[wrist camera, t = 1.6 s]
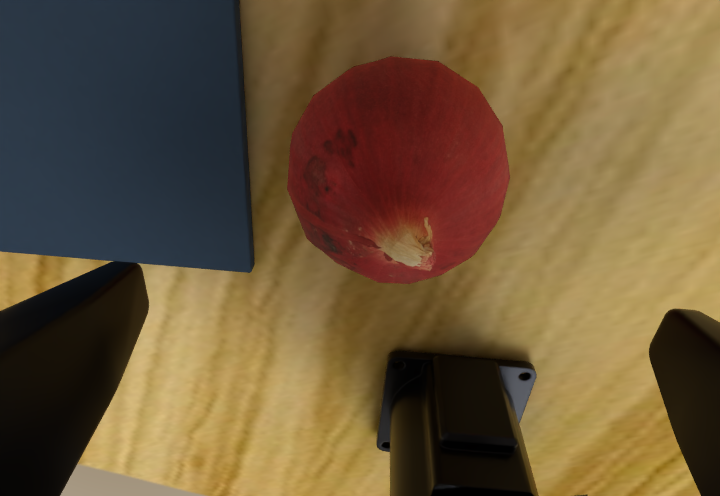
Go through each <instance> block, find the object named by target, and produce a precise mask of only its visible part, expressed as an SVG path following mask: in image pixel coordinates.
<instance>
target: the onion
mask: <svg viewBox="0 0 720 496" xmlns="http://www.w3.org/2000/svg"><path fill="white" fill-rule="evenodd" d="M509 179H510V174H509V165H508V158H507V152H506V145H505V139H504V133H503V126H502V124H501V123H500V121H499V119H498V118H497V116H496V115H495V113H494V112H493V110H492V108H491V107H490V105H489V104H488V102H487V101H486V99H485V97H484V96H483V94H482V93H481V91H480V90H479V88H478V87H477V86H475V85H474V84H472V83H471V82H469V81H468V80H466V79H464V78H463V77H461V76H460V75H458V74H457V73H455V72H454V71H452V70H451V69H449V68H448V67H446V66H445V65H443V64H442V63H440V62H439V61H431V60H421V59H412V58H402V57H393V56H390V57H387V58H384V59H381V60H378V61H374V62H370V63H366V64H362V65H358V66H354V67H352V68H351V69H349V70H347V71H346V72H345V73H343V74H342V75H341V76H339V77H338V78H336V79H335V80H334V81H332V82H331V83H330V84H328V85H327V86H326V87H324V88H323V89H322V90H320V91H319V92H317V93H316V94H315V95H313V97H312V99H311V101H310V103H309V104H308V106H307V108H306V110H305V111H304V113H303V115H302V117H301V119H300V120H299V122H298V124H297V126H296V127H295V129H294V131H293V133H292V138H291V144H290V156H289V170H288V185H287V190H288V192H289V195H290V197H291V200H292V202H293V205H294V207H295V210H296V212H297V215H298V218H299V220H300V223H301V225H302V228H303V230H304V232H305V235H306V237H307V239H308V240H309V241H310V242H311V243H312V244H314V245H315V246H316V247H317V248H319V249H320V250H322V251H323V252H324V253H325V254H326V255H328V256H329V257H330V258H331V259H333V260H334V261H335V262H336V263H338V264H340V265H342V266H344V267H346V268H348V269H350V270H352V271H354V272H357V273H359V274H361V275H363V276H365V277H368V278H370V279H372V280H374V281H376V282H379V283H401V284H410V283H414V282H418V281H421V280H425V279H429V278H432V277H436V276H439V275H442V274H444V273H445V272H447V271H449V270H450V269H452V268H454V267H456V266H457V265H459V264H461V263H462V262H464V261H466V260H467V259H469V258H471V257H472V256H473V255H474V254H475V253H476V252H477V250H478V249H479V247H480V246H481V245H482V243H483V242H484V240H485V239H486V238H487V236H488V235H489V233H490V232H491V230H492V229H493V228H494V226H495V225H496V223H497V221H498V219H499V217H500V215H501V211H502V207H503V203H504V199H505V195H506V191H507V187H508V183H509Z"/></svg>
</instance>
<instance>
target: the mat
mask: <svg viewBox="0 0 720 496" xmlns="http://www.w3.org/2000/svg"><path fill="white" fill-rule="evenodd" d="M0 251H2V252H13V253H25V254H37V255H49V256H60V257H72V258H84V259H95V260H107V261H123V262H134V263H142V264H154V265H166V266H177V267H189V268H201V269H212V270H224V271H236V272H248V273H250V272H251V271H252V269H253V267H254V248H253V231H252V214H251V197H250V179H249V162H248V145H247V128H246V111H245V94H244V76H243V59H242V42H241V25H240V8H239V0H0Z"/></svg>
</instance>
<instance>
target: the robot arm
mask: <svg viewBox="0 0 720 496" xmlns="http://www.w3.org/2000/svg"><path fill="white" fill-rule="evenodd" d="M148 309H149V300H148V295H147V290H146V285H145V280H144V276H143V271H142V268H141V267H140V265H139V264H137V263H134V262H123V261H113V262H110V263H108V264H106V265H103V266H101V267H99V268H97V269H94V270H92V271H90V272H88V273H85V274H83V275H81V276H79V277H76V278H74V279H72V280H69V281H67V282H65V283H63V284H60V285H58V286H56V287H54V288H51V289H49V290H47V291H45V292H42V293H40V294H38V295H36V296H33V297H31V298H29V299H27V300H24V301H22V302H20V303H18V304H15V305H13V306H11V307H9V308H6V309H4V310H2V311H0V496H60V495H61V493H62V491H63V489H64V487H65V486H66V484H67V482H68V480H69V478H70V476H71V474H72V472H73V471H74V469H75V467H76V465H77V463H78V461H79V460H80V458H81V456H82V454H83V452H84V450H85V449H86V447H87V445H88V443H89V441H90V439H91V437H92V436H93V434H94V432H95V430H96V428H97V426H98V424H99V423H100V421H101V419H102V417H103V415H104V413H105V411H106V410H107V408H108V406H109V404H110V402H111V400H112V398H113V396H114V394H115V392H116V390H117V388H118V386H119V383H120V381H121V379H122V376H123V374H124V371H125V369H126V366H127V364H128V362H129V359H130V357H131V354H132V352H133V349H134V347H135V344H136V342H137V339H138V337H139V334H140V332H141V329H142V327H143V324H144V322H145V319H146V317H147V314H148ZM649 357H650V361H651V364H652V367H653V371H654V374H655V377H656V380H657V383H658V386H659V389H660V392H661V395H662V398H663V401H664V404H665V407H666V410H667V413H668V416H669V419H670V423H671V426H672V428H673V431H674V434H675V437H676V439H677V442H678V444H679V447H680V449H681V452H682V454H683V456H684V459H685V461H686V463H687V465H688V467H689V470H690V472H691V474H692V476H693V479H694V481H695V483H696V485H697V488H698V490H699V492H700V494H701V496H720V322H718V321H716V320H714V319H712V318H711V317H709V316H707V315H705V314H703V313H702V312H699V311H696V310H686V309H672V310H669V311H668V312H667V313H666V314H665V316H664V318H663V320H662V322H661V324H660V326H659V328H658V330H657V332H656V334H655V336H654V338H653V340H652V342H651V344H650V348H649ZM397 361H400V362H402V363H396V362H397ZM524 372H526V373H524ZM521 373H524V374H521ZM535 379H536V371H535V369H534V366H533V365H532V364H531V363H529V362H525V361H513V360H502V359H490V358H479V357H467V356H456V355H444V354H433V353H421V352H410V351H394V352H391V353H390V354H389V355H388V358H387V365H386V372H385V380H384V387H383V395H382V402H381V410H380V417H379V425H378V432H377V447H378V448H379V449H380V450H382V451H386V452H390V496H539V495H538V492H537V488H536V484H535V481H534V477H533V473H532V470H531V466H530V462H529V459H528V455H527V451H526V448H525V444H524V440H523V437H522V433H521V429H520V426H519V423H520V420H521V418H522V415H523V412H524V409H525V407H526V404H527V401H528V398H529V396H530V393H531V390H532V388H533V385H534V382H535ZM576 496H587V495H576Z"/></svg>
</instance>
